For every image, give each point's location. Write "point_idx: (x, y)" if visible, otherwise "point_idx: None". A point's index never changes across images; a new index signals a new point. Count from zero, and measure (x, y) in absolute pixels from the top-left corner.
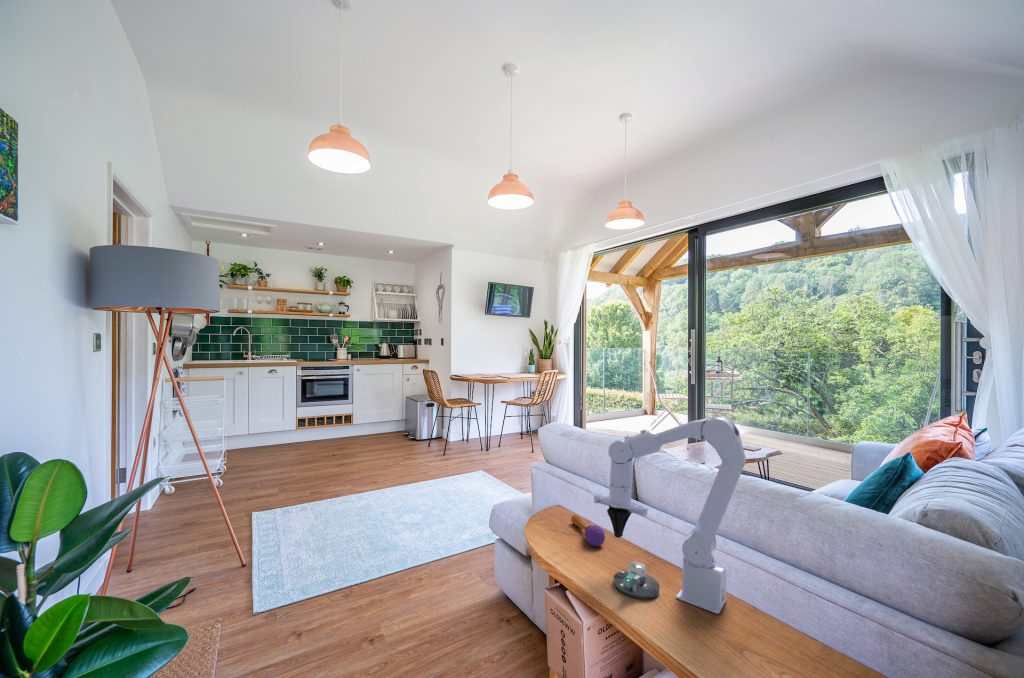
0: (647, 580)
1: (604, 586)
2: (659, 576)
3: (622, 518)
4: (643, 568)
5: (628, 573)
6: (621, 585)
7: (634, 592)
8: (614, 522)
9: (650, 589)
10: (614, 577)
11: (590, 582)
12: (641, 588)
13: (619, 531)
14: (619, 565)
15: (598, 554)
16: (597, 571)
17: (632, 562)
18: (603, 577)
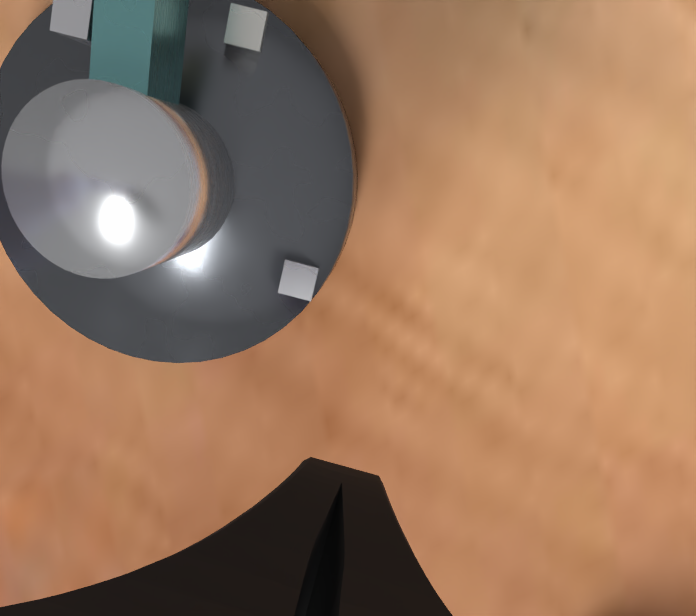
0: None
1: (413, 54)
2: (71, 453)
3: (49, 611)
4: (20, 148)
5: (197, 130)
6: (253, 10)
7: None
8: (372, 598)
9: None
10: (344, 149)
11: (540, 54)
12: None
13: (278, 490)
14: None
15: (565, 589)
16: (518, 288)
17: (152, 231)
18: (451, 209)
